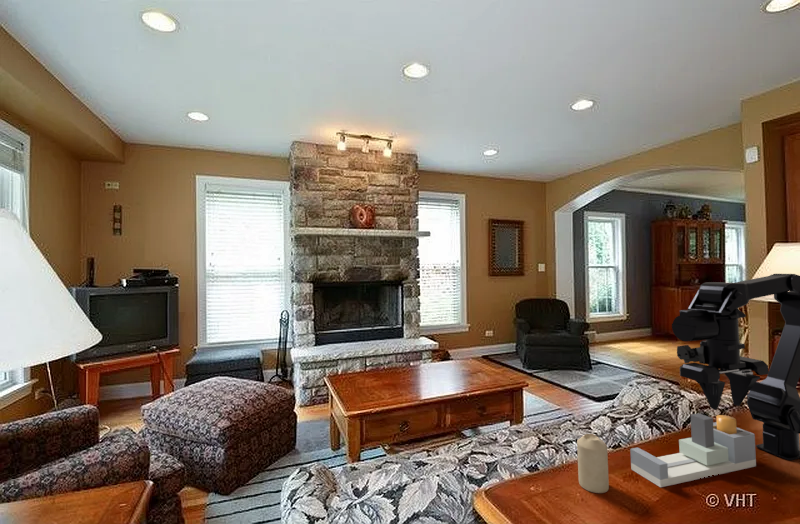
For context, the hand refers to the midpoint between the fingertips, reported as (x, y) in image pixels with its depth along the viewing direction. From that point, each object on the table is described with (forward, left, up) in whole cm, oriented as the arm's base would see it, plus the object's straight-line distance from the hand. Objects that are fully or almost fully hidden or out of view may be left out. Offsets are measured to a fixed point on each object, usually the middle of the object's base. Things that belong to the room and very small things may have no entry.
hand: (725, 407), depth 84 cm
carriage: (+7, 0, -10) cm, 12 cm away
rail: (+10, 0, -12) cm, 16 cm away
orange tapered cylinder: (0, 0, -8) cm, 8 cm away
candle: (+35, -1, -12) cm, 37 cm away
